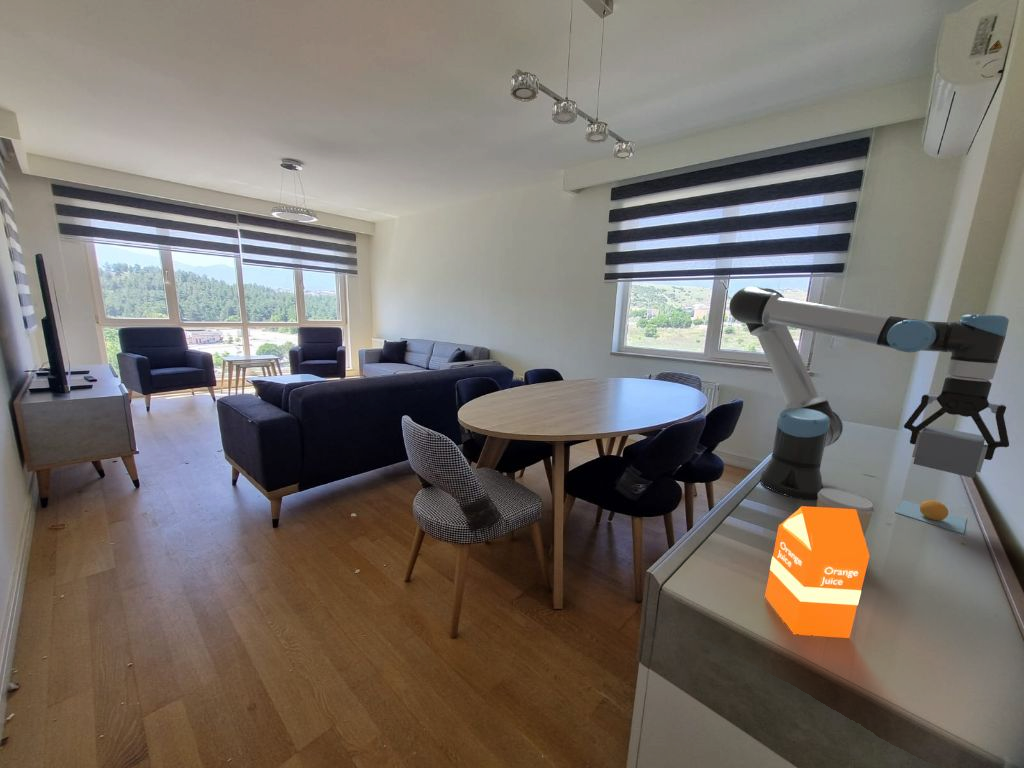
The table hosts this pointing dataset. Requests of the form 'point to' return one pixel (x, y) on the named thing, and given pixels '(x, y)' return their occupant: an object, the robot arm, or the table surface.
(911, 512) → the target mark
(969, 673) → the table surface
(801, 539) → the orange juice
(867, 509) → the coffee cup
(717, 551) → the table surface
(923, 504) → the ball
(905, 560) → the table surface
